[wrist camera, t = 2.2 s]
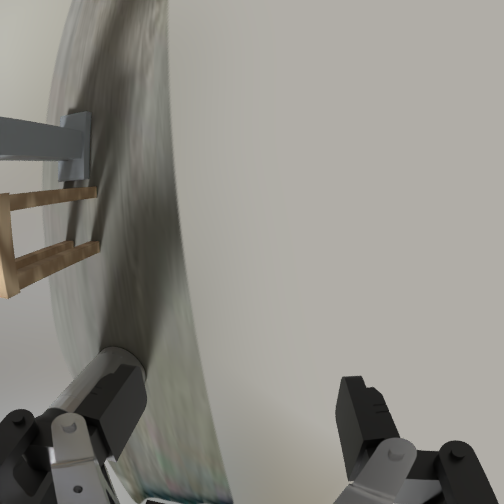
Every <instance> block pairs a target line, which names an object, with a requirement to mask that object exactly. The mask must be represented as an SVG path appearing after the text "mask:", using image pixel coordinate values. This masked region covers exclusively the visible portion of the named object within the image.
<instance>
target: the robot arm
mask: <svg viewBox="0 0 504 504" xmlns="http://www.w3.org/2000/svg"><path fill="white" fill-rule="evenodd" d="M145 380H146V375H145V371H144V368H143V366H142V365H141V363H140V362H139V361H138V359H137V358H136V357H135V356H134V355H132V354H131V353H130V352H128V351H126V350H124V349H122V348H119V347H107V348H105V349H103V350H102V351H101V352H100V353H99V354H98V355H97V356H96V357H95V358H94V359H93V360H92V361H91V362H90V363H89V364H88V365H87V366H86V367H85V369H84V370H83V371H82V372H81V373H80V374H79V375H78V376H77V377H76V378H75V379H74V380H73V382H71V384H70V385H69V386H68V387H67V388H66V389H65V390H64V391H63V392H62V393H61V394H60V396H59V397H58V398H57V399H56V400H55V401H54V402H53V403H52V404H51V406H50V407H49V408H48V409H47V410H46V411H45V412H44V413H43V414H42V415H41V416H38V417H36V418H34V416H33V414H32V413H31V412H30V411H28V410H25V409H18V410H14V411H12V412H10V413H9V414H8V415H7V416H6V417H5V418H4V419H3V420H2V422H1V423H0V504H120V503H119V501H118V498H117V496H116V493H115V490H114V488H113V485H112V482H111V480H110V477H109V474H108V471H107V468H106V466H105V464H104V462H105V460H106V459H107V460H111V461H114V462H117V460H118V458H119V456H120V454H121V453H122V451H123V449H124V447H125V445H126V443H127V441H128V439H129V438H130V436H131V434H132V432H133V430H134V428H135V426H136V425H137V423H138V421H139V419H140V417H141V415H142V413H143V412H144V410H145V407H146V404H147V394H146V390H145V385H144V384H145ZM335 414H336V423H337V428H338V432H339V437H340V442H341V447H342V452H343V457H344V462H345V467H346V473H347V478H348V481H354V482H353V483H352V484H349V485H348V486H347V487H346V488H345V489H344V491H343V492H342V493H341V494H340V496H339V497H338V498H337V500H336V501H335V502H334V503H333V504H393V503H395V504H498V501H497V499H496V497H495V494H494V492H493V490H492V488H491V486H490V483H489V481H488V479H487V477H486V475H485V473H484V470H483V468H482V466H481V464H480V462H479V460H478V458H477V456H476V454H475V452H474V450H473V449H472V447H471V446H470V445H469V444H467V443H465V442H462V441H449V442H447V443H445V444H444V445H443V446H442V447H441V448H440V450H439V451H421V450H416V448H415V446H414V445H413V444H412V443H411V442H410V441H408V440H405V439H402V438H400V436H399V433H398V431H397V428H396V426H395V424H394V421H393V419H392V416H391V414H390V412H389V410H388V407H387V405H386V403H385V400H384V398H383V396H382V394H381V393H380V392H379V391H377V390H376V389H375V388H374V387H370V388H366V386H365V383H364V380H363V378H362V376H349V377H342V379H341V384H340V389H339V394H338V399H337V404H336V412H335ZM146 504H164V503H158V502H155V501H150V500H147V502H146Z"/></svg>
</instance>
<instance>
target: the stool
mask: <svg viewBox="0 0 504 504" xmlns="http://www.w3.org/2000/svg"><path fill="white" fill-rule="evenodd" d="M89 198H97V186H96V187H82V188H70V189H58V190H48V191H38V192H29V193H20V194H12V195H9V193H3V194H0V297H1V298H7V299H9V298H11V297H13V296H15V295H16V294H18V293H20V290H21V289H23V288H25V287H27V286H28V285H31V284H33V283H35V282H37V281H39V280H41V279H43V278H45V277H47V276H49V275H51V274H53V273H55V272H57V271H60V270H62V269H64V268H66V267H68V266H70V265H72V264H74V263H77V262H79V261H81V260H83V259H85V258H88V257H90V256H92V255H94V254H96V253H99V252H100V247H99V241H89V242H87V243H84V244H81V245H79V246H76V247H74V244H73V241H63V242H61V243H58V244H55V245H52V246H49V247H46V248H43V249H40V250H38V251H35V252H32V253H29V254H27V255H24V256H21V257H18V258H16V259H15V256H14V248H13V240H12V229H11V217H10V211H13V210H19V209H25V208H30V207H36V206H42V205H48V204H55V203H61V202H68V201H75V200H82V199H89Z"/></svg>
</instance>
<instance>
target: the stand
mask: <svg viewBox="0 0 504 504" xmlns="http://www.w3.org/2000/svg"><path fill="white" fill-rule="evenodd" d="M90 129H91V112H88V111H83V112H79V113H74V114H70V115H66V116H61V118H60V127H58V126H53V125H48V124H42V123H36V122H31V121H25V120H19V119H12V118H5V117H0V160H24V161H25V160H26V161H27V160H28V161H58V182H62V181H72V180H82V179H89V155H90Z"/></svg>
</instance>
